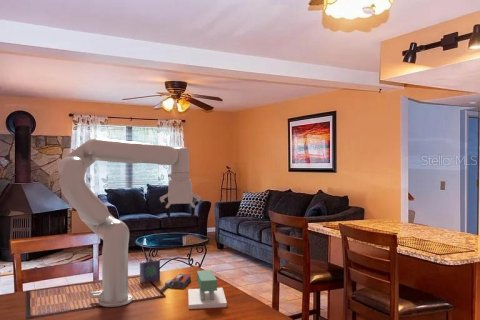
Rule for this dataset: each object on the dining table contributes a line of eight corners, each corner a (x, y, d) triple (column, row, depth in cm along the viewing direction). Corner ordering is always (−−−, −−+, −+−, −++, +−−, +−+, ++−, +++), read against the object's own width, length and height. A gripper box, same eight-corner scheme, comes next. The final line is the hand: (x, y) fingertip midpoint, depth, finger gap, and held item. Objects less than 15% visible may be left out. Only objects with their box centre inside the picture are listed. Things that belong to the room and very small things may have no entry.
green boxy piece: (201, 291, 154) (201, 281, 154) (196, 280, 168) (196, 270, 168) (217, 290, 155) (216, 279, 155) (211, 279, 169) (211, 269, 169)
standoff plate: (188, 308, 152) (188, 294, 152) (188, 292, 169) (188, 279, 169) (226, 306, 153) (226, 292, 153) (222, 291, 171) (222, 277, 171)
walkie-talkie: (173, 279, 189) (158, 294, 169) (173, 270, 189) (157, 283, 169) (192, 280, 188) (178, 295, 168) (192, 270, 188) (178, 284, 168)
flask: (141, 283, 182) (140, 259, 182) (138, 281, 185) (138, 257, 185) (160, 280, 187) (160, 256, 187) (158, 278, 190) (158, 255, 190)
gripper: (158, 177, 170) (159, 218, 170) (201, 176, 172) (201, 217, 172) (159, 176, 177) (160, 216, 177) (200, 175, 179) (200, 215, 179)
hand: (180, 217), depth 175 cm, fingers open, 9 cm apart
